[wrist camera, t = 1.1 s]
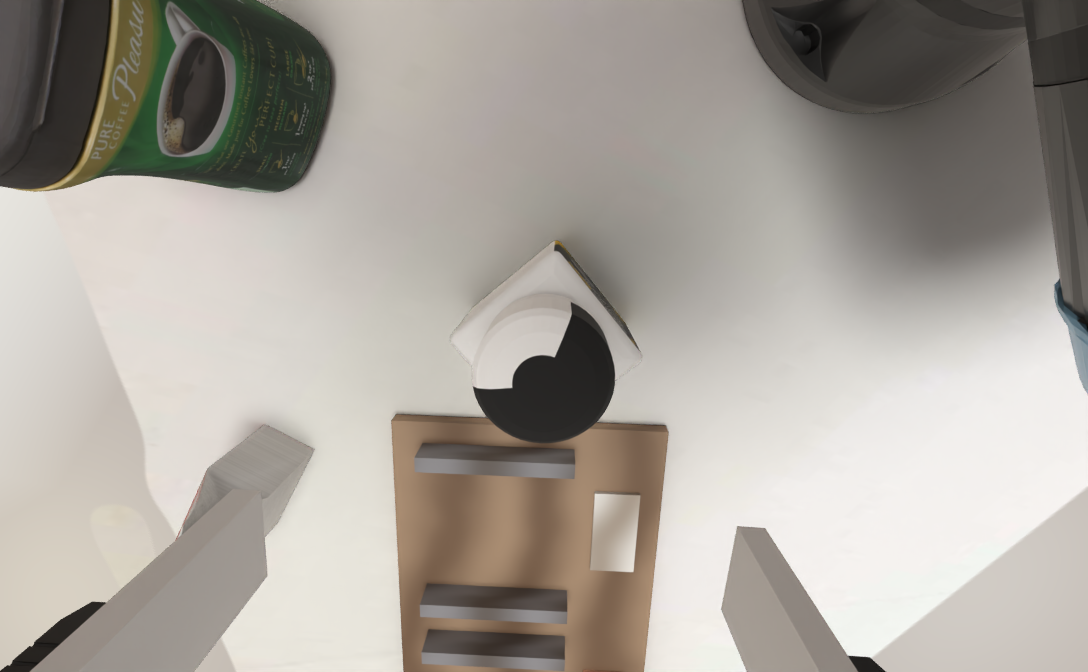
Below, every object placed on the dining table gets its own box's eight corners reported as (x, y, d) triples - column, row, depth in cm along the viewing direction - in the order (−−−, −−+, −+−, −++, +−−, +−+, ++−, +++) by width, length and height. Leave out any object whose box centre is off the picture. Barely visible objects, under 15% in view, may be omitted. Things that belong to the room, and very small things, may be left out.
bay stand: (665, 425, 34) (675, 446, 31) (631, 764, 42) (636, 806, 39) (396, 414, 34) (381, 434, 32) (411, 752, 42) (400, 793, 39)
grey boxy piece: (314, 449, 35) (222, 543, 26) (277, 522, 37) (177, 637, 27) (265, 424, 35) (152, 510, 25) (230, 499, 37) (111, 606, 27)
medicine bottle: (628, 326, 32) (666, 397, 21) (541, 392, 34) (531, 493, 22) (556, 237, 31) (555, 260, 20) (469, 310, 32) (419, 371, 21)
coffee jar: (216, -15, 28) (-386, -388, 10) (352, 49, 29) (10, -197, 11) (176, 156, 31) (-369, 96, 13) (302, 212, 31) (-45, 230, 13)
